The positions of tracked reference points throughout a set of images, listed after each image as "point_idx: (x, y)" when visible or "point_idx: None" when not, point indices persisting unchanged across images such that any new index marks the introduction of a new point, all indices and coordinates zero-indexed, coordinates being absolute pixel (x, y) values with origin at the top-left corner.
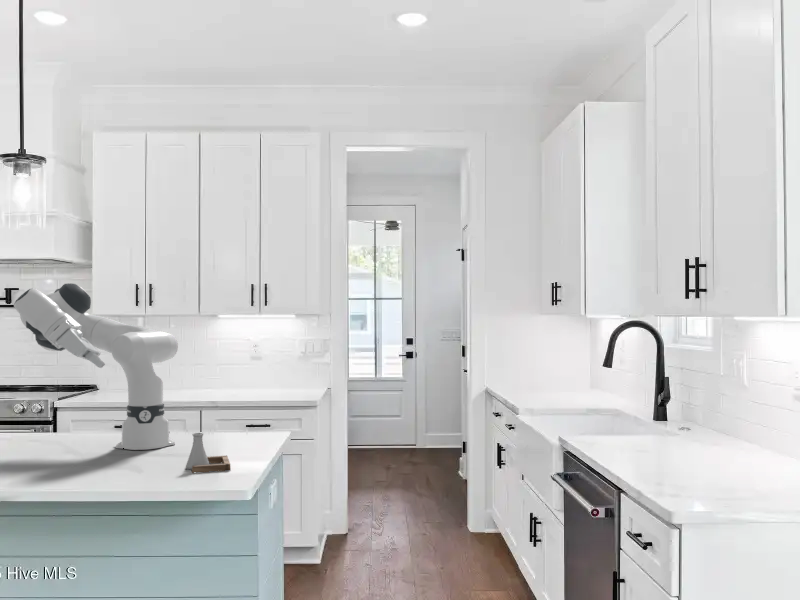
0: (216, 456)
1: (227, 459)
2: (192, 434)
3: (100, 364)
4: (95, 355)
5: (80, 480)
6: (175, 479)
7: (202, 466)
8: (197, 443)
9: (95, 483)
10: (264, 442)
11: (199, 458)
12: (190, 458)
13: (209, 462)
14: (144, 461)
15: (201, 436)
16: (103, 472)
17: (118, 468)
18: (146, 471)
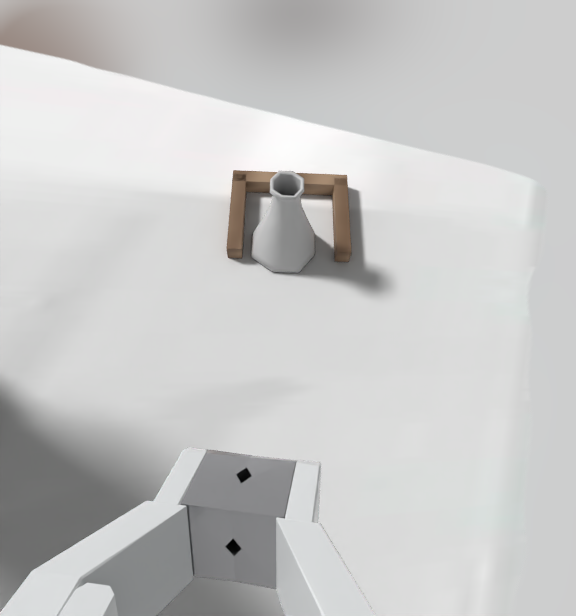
0: (236, 192)
1: None
2: (287, 199)
3: (318, 496)
4: (115, 612)
5: None
6: (407, 301)
7: (349, 231)
8: (299, 205)
9: (405, 515)
10: (26, 84)
11: (308, 227)
12: (299, 247)
13: (244, 216)
14: (127, 377)
15: (295, 181)
16: None
17: None
18: (283, 370)
